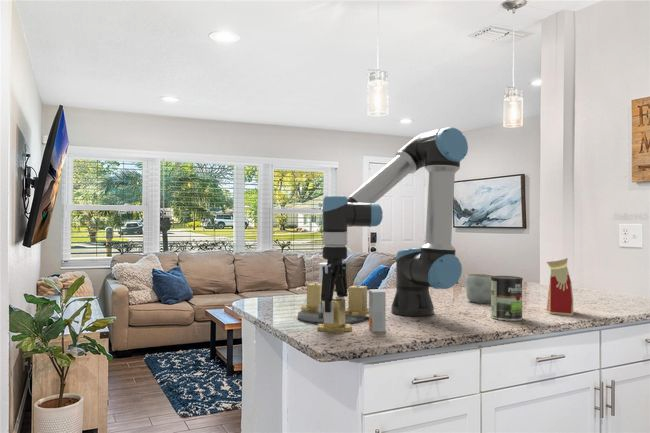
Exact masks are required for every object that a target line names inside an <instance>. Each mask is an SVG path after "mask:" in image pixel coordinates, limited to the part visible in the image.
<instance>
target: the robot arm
mask: <svg viewBox="0 0 650 433" xmlns="http://www.w3.org/2000/svg"><path fill="white" fill-rule="evenodd" d="M468 145H469V144H468V140H467V138H466V136H465V135H464V134H463V132H462V131H461V130H459V129H458V128H456V127H453V126H452V127H440V128H439V129H433V130H431V131H427V132H423V133H420V134H418V135H417V136H415V137H413V138H412V139H411V140H409V142H408V143H406V144H405V145H404V146H403V147H401V148H400V149H399V150H398V151H396V153H395V156H394V157H393V159H391V161H389V162H388V163H387V164H386V165H385V166H383V167H382V168H380V169H379V171H377V172H376V173H375V174H374V175H373V176H371V177H370V178H369V179H368V180H366V182H364V183H363V184H362V185H361V186H360V187H359V188H357V189H356V190H355V191H354V192H353V193H351V194H350V195H349V196H348V197H347V196H346V195H326V196H324V198H323V200H322V210H321V211H322V234H321V238H322V245H323V247H322V259H323V260H327V261H326V263H327V266H323V268H322V270H323V278H322V290H321V301H324V323H332V324H333V323H334V301H332V299H334V295H333V293H334V294H335V292H336V296H335V299H345V297H349V293H348V282H347V263H345V262H343V260H346V259H348V248H347V245H348V227H350V228H351V227H359V228H362V227H369V228H371V227H378V226H379V225H381V222H382V221H383V217H384V216H383V209H382V207H381V205H380V204H379V203H377V202H378V201H379V200H380V199H381V198H382V197H384V196H385V195H386V194H387V193H388V192H390V190H392V189H393V188H394V187H395V186H396V185H398V184H399V183H400V182H401V181H402V180H403V179H404V178H405V177H407V176H409V174H414V173H416V172H417V171H418V170H420V169H422V168H425V170H426V171H427V173H428V186H427V188H428V189H427V191H428V192H427V205H426V206H427V208H426V209H427V210H426V221H425V222H426V223H425V224H426V226H425V228H426V229H425V242H424V244H423V245H421V246H420V248H418V247H417V248H406V249H399V250H398V251H397V252H396V258H395V262H396V264H395V265H396V266H395V267H396V269H395V270H396V271H395V272H396V273H395V274H396V276H395V278H396V282H395V283H396V289H395V290H396V291H395V294H394V298H393V300H392V303H391V313H392V314H394V315H399V316H407V317H424V316H431V315H433V314H434V313H435V306H434V304H433V301H432V298H431V294H430V288H433V289H435V290H437V289H438V290H448V289H451V288H453V287H454V286H455V285H456V284H457V283H459V280H460V279H461V276H462V273H463V272H462V271H463V269H462V268H463V266H462V262H461V261H460V259H459V257H457V256H456V252H457V251H456V248H455V247H454V246H453V245H452V237H453V235H452V234H453V233H452V232H453V216H454V214H453V213H454V198H455V197H454V196H455V179H456V178H455V177H456V176H455V175H456V173H457V172H458V171H459V170H461V168H460V167H461V161H462V160H464V159H465V157H466V156H467V154H468V151H469V146H468ZM345 300H346V299H345Z"/></svg>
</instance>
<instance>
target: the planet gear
mask: <svg viewBox="0 0 650 433" xmlns="http://www.w3.org/2000/svg"><path fill="white" fill-rule="evenodd" d="M332 301H334V323H333V324H332V323H324V324H317V327H316V330H317V332H325V333H326V334H333V332H336V333H335V334H337V333H338V334H343V333H345V332H346V331H347V332H352V331H353V326H352V323H351V324H345V308H346V299H336V298H333V299H332Z"/></svg>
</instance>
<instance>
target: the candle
mask: <svg viewBox="0 0 650 433" xmlns="http://www.w3.org/2000/svg"><path fill="white" fill-rule="evenodd" d="M323 266H327V262H320V263H318V267H319V270H318V272H319V273H318V274H319V276H318V284H322V278H323V270H322V268H323ZM334 295H335V292H334V293H333V296H334Z"/></svg>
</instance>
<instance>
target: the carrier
mask: <svg viewBox="0 0 650 433" xmlns="http://www.w3.org/2000/svg"><path fill="white" fill-rule="evenodd" d="M321 290H322V284H319V282H313V283H308V284H306V304H302V305H301V307H300V311H298V312H297V319H298V320H299V321H301V322H304V323H308V324H309V323H310V324H313V325H315V324H316V325H318V324H324V301H321ZM347 306H348V307H345V324H351V325H352V324H355V323H360V322H363V321H365V320H366V316H369V307H368V286H367V285H360V284H356V285H350V286H349V287H348V304H347Z"/></svg>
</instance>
